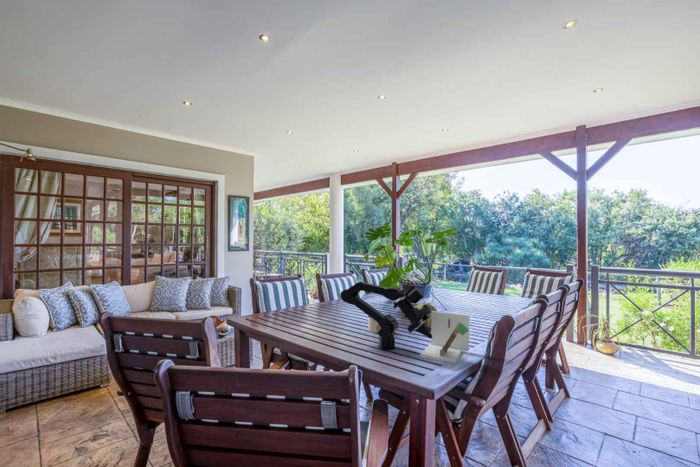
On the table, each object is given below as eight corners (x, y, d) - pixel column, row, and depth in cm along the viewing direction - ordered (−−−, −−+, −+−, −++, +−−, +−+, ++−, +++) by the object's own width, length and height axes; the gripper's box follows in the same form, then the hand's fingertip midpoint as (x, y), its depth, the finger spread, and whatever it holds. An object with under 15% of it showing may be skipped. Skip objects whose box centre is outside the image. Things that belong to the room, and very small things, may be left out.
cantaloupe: (407, 327, 204) (407, 302, 204) (421, 323, 214) (421, 299, 215) (429, 332, 194) (429, 305, 194) (442, 328, 204) (443, 302, 204)
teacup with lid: (378, 334, 189) (379, 312, 189) (364, 331, 194) (365, 310, 194) (389, 329, 198) (389, 309, 199) (375, 327, 204) (376, 307, 204)
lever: (440, 352, 152) (454, 329, 150) (441, 349, 156) (455, 327, 153) (444, 355, 152) (458, 331, 149) (445, 352, 155) (460, 330, 152)
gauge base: (420, 357, 153) (421, 318, 153) (430, 345, 170) (431, 310, 170) (462, 364, 145) (463, 323, 145) (469, 351, 162) (469, 314, 162)
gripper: (415, 302, 150) (440, 331, 145) (426, 296, 167) (448, 322, 162) (397, 318, 154) (421, 347, 149) (409, 310, 170) (431, 336, 165)
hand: (431, 337), depth 156 cm, fingers closed
